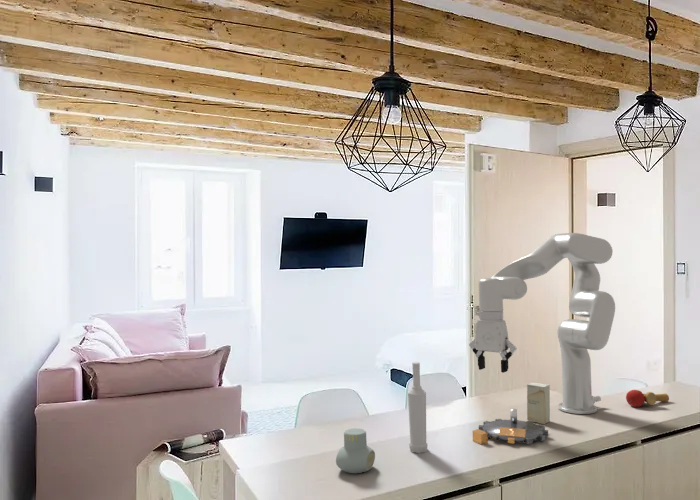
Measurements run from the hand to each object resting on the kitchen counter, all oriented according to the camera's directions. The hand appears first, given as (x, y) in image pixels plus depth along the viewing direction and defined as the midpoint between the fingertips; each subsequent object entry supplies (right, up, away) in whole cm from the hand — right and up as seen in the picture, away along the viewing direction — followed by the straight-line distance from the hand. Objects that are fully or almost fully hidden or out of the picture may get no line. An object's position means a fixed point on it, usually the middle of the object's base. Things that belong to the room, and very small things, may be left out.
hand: (493, 370), depth 180 cm
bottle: (-27, -19, -22) cm, 39 cm away
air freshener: (-45, -19, -35) cm, 60 cm away
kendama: (+61, -17, +19) cm, 65 cm away
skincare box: (+16, -18, +2) cm, 24 cm away
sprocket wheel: (+3, -18, -11) cm, 21 cm away
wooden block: (-1, -18, -13) cm, 22 cm away
